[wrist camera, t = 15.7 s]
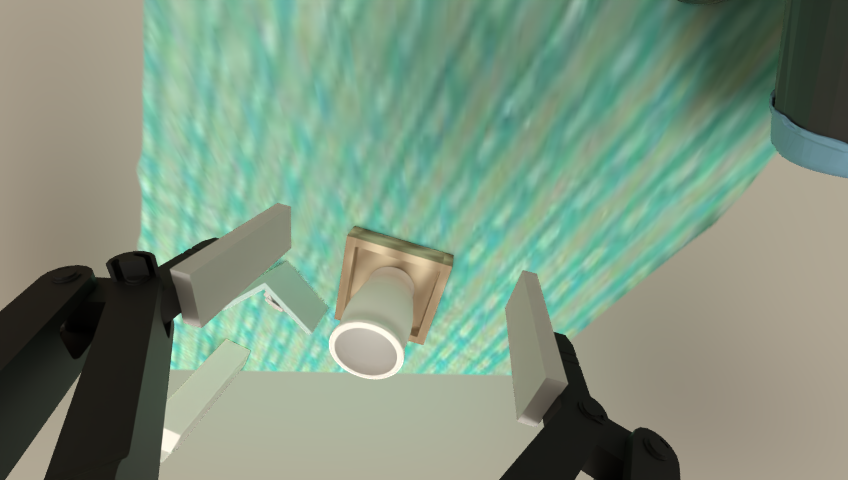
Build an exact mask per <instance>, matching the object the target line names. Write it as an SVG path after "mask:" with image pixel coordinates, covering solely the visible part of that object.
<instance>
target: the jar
mask: <svg viewBox="0 0 848 480" xmlns="http://www.w3.org/2000/svg"><path fill="white" fill-rule="evenodd" d="M414 291H415V288H414V283H413V281H412V279H411V278H410V276H409V275H408V274H407V273H405V272H404V271H402V270H401V269H398V268H395V267H381V268H379V269H377V270H375V271H374V272H373V273H372V274H371V275H370V277H369V280H368V281H367V282H366V283H364V284H363V286H362V287H361V288H360V289H359V291H357V293H356V294H355V295H354V296H353V297H352V298H351V300H350V301H349V303H348V305H347V306H346V308H345V310H344V312H343V315H342V317H341V320H340V324H339V325H338V326H337V327H336V328H335V329H334V330H333V332H332V334H331V336H330V339H329V349H330V352H331V354H332V356H333V358H334V359H335V361H336V362H337V363H338V364H339V365H340V366H341V367H342V368H344V369H345V370H346V371H348V372H350V373H352V374H354V375H357V376H359V377H362V378H368V379H382V378H386V377H390V376H391V375H394V374H395V373H396V372H397V371H398V370H399V369H400V368H401V366H402V364H403V361H404V356H405V350H404V348H405V346H406V344H407V342H408V339H409V336H410V333H411V329H412V323H413V295H414Z"/></svg>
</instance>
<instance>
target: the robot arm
mask: <svg viewBox="0 0 848 480" xmlns="http://www.w3.org/2000/svg"><path fill="white" fill-rule="evenodd" d="M678 1H681V2H685V3H689V4H699V5H700V4H712V3H717V2H721V1H725V0H678ZM769 107H770V109H771V113H772V121H771V141H772V144H773V145H774V146H775V148H776V150H777V151H778V152H779V154H780V155H781V156H782V157H784V158H785V159H787V160H789V161H790V162H793V163H794V164H796V165H799V166H801V167H804V168H807V169H810V170H813V171H816V172H820V173H825V174H829V175H833V176H839V177H844V178H848V0H786V6H785V14H784V21H783V29H782V37H781V45H780V52H779V60H778V68H777V76H776V84H775V89H774V90H773V91H772V93H771V95H770V99H769ZM290 249H291V207H290V206H287V205H283V204H279V203H277V204H275V205H274V206H272V207H270V208H269V209H267V210H265V211H264V212H262V213H261V214H259V215H257V216H256V217H254V218H252V219H251V220H249V221H247V222H246V223H244V224H243V225H241V226H239V227H238V228H236V229H234V230H233V231H231V232H229V233H228V234H226V235H225V236H223V237H221V238H220V239H219V238H212V239H208V240H205V241H202V242H200V243H199V244H197V245H195V246H193V247H192V249H188V250H187V251H185V252H184V253H183V254H182V253H181V254H180V255H178V256H176V257H175V258H173V259H171V260H169V261H168V262H166V263H164V264H163V265H161V266H159V267H158V265H157V262H156V258H155V255H154V254H152V253H150V252H145V251H133V252H127V253H123V254H120V255H117V256H115V257H113V258H111V259H110V260H109V261H108V262H107V263H106V266H107V269H108V271H109V274H110V276H111V278H98V277H95V275H94V273H93V270H92V269H91V268H89V267H87V266H80V265H75V266H66V267H61V268H58V269H55V270H52V271H50V272H47V273H46V274H44V275H42V276H41V277H40V278H38V279H37V280H36V281H35V282H34V283H33V284H31V285H30V286H29V287H28V288H27V289H26V290H25V291H23V293H21V294H20V295H19V296H18V297H16V298H15V299H14V300H13V301H12V302H11V303H9V304H8V305H7V306H6V307H5V308H4V309H3V310H1V311H0V480H5V479H6V478H7V476H8V475H9V473H10V472H11V470H12V469H13V468H14V466H15V465H16V463H17V462H18V461H19V459H20V458H21V456H22V455H23V454H24V452H25V451H26V449H27V448H28V447H29V445H30V444H31V442H32V441H33V440H34V438H35V437H36V435H37V434H38V432H39V431H40V430H41V428H42V427H43V425H44V424H45V423H46V421H47V420H48V418H49V417H50V416H51V414H52V413H53V411H54V410H55V408H56V407H57V406H58V404H59V403H60V401H61V400H62V399H63V397H64V396H65V394H66V393H67V391H68V390H69V389H70V387H71V386H72V384H73V383H74V382H75V380H76V379H77V377H78V376H79V374H80V373H81V375H80V378H79V381H78V384H77V386H76V389H75V392H74V395H73V398H72V401H71V404H70V407H69V409H68V412H67V415H66V418H65V421H64V424H63V427H62V429H61V433H60V435H59V438H58V441H57V444H56V447H55V450H54V452H53V455H52V458H51V461H50V464H49V467H48V470H47V472H46V475H45V478H44V480H158V476H159V466H160V457H161V448H162V438H163V429H164V419H165V410H166V399H167V390H168V381H169V372H170V362H171V353H172V343H173V334H174V321H173V318H175V317H176V316H177V315H178V314H180V313H181V314H182V318H183V322H184V323H186V324H189V325H192V326H196V327H199V328H202V327H203V326H204V325H206V324H207V323H208V322H209V321H210V320H211V319H212V318H213V317H214V316H216V315H217V314H218V313H219V312H220V311H221V310H222V309H223V308H225V307H226V306H227V305H228V304H229V303H230V302H231V301H232V300H234V299H235V298H236V297H237V296H238V295H239V294H240V293H241V292H242V291H244V290H245V289H246V288H247V287H248V286H249V285H250V284H251V283H253V282H254V281H255V280H256V279H257V278H258V277H259V276H260V275H262V274H263V273H264V272H265V271H266V270H267V269H268V268H269V267H271V266H272V265H273V264H274V263H275V262H276V261H277V260H278V259H279V258H281V257H282V256H283V255H284V254H285V253H286V252H287V251H288V250H290ZM505 311H506V320H507V330H508V339H509V349H510V359H511V368H512V377H513V387H514V397H515V406H516V416H517V421H518V422H521V423H524V424H528V425H531V426H534V427H537V426H538V424H539V423H540V422H541V420H542V419H543V423H544V428H543V429H542V430H541V431H540V432H539V434H538V435H537V436H536V437H535V438H534V440H533V441H532V442H531V443H530V444H529V445H528V446H527V448H526V449H525V450H524V451H523V452H522V454H521V455H520V456H519V457H518V458H517V459H516V461H515V462H514V463H513V464H512V465H511V466H510V468H509V469H508V470H507V471H506V472H505V474H504V475H503V476H502V477H501V478H500V479H499V480H575V478H576V477H577V475H578V474H579V472H580V470H582V471H583V472H585V473H586V474H588V475H590V476H591V477H592V478H594V480H680V468H679V462H678V458H677V455H676V454H675V452H674V450H673V449H672V447H671V446H670V445H669V444H668V443H667V442H666V441H665V440H664V439H663V438H662V437H661V436H659V435H658V434H657V433H655V432H654V431H652V430H649V429H648V428H642V427H640V428H638V429H635V430H634V431H633V432H630V431H629V430H627V429H625V428H623V427H622V426H620V425H618V424H616V423H615V422H613V421H611V420H610V419H608V416H607V414H606V412H605V410H604V409H603V407H602V406H601V405H600V404H599V403H598V402H597V401H596V400H595V399H593V398H592V397H591V396H590V394H589V391H588V388H587V385H586V382H585V379H584V376H583V373H582V370H581V367H580V366H579V362H578V359H577V357H576V353H575V350H574V347H573V345H572V344H571V342H570V341H569V339H568V338H567V337H566V335H563V334H559V333H556V332H553V329H552V325H551V322H550V318H549V315H548V311H547V308H546V304H545V301H544V297H543V294H542V290H541V287H540V283H539V280H538V276H537V274H535V273H532V272H528V271H524V270H523V271H522V273H521V275H520V277H519V279H518V282H517V284H516V286H515V288H514V290H513V292H512V294H511V297H510V299H509V301H508V303H507V305H506V307H505Z"/></svg>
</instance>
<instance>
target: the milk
mask: <svg viewBox="0 0 848 480" xmlns="http://www.w3.org/2000/svg"><path fill="white" fill-rule="evenodd" d="M250 351H251V350H249V349H247V348H245V347H243V346H240V345H238V344H236V343H234V342H232V341H230V340H228V339H225V340H224V342H223V343H222V344H221V345H220V346H219V347H218V348H217V349H216V350H215V351H214V352H213V353H212V354H211V355H210V356H209V357H208V358H207V359H206V360H205V361H204V362H203V364H202V365H201V366H200V367H199V368H198V369H197V370H196V371H195V372H194V373H193V374H192V375H191V376H190V377H189V378H188V379H187V381H185V382H184V384H183V385H182V386H181V387H180V388H179V389H178V390H177V391H176V392H175V393H174V394H173V395H172V396H171V397H170V398H169V399H168V400H167V401H166V410H165V419H164V429H163V438H162V448H161V457H160V462H163V461H165V459H166V458H167V457H168V456H169V455H170V453H172V452H174V451H175V450H177V449H178V448H179V446H180V445H181V444H182V442H183V441H184V440H185V439H186V437H187V436H188V435H189V434H190V433H191V431H192V430H193V429H194V428H195V426H196V425H197V424H198V423H199V421H200V420H201V419H202V418H203V416H204V415H205V414H206V412H207V411H208V410H209V409H210V407H211V406H212V405H213V404H214V403H215V401H216V400H217V399H218V398H219V396H220V395H221V394H222V393H223V391H224V390H225V389H226V388H227V386H228V385H229V384H230V383H231V381H232V380H233V379H234V377H235V376H236V375H237V374H238V373H239V371H240V370H241V369H242V368H243V366H244V365H245V363H246V361H247V358H248V356H249V353H250Z"/></svg>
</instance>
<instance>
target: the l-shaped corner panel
mask: <svg viewBox="0 0 848 480" xmlns="http://www.w3.org/2000/svg"><path fill="white" fill-rule="evenodd" d="M263 289H265V293H264V296H265V297H266V299H265V301H267V302H268V303H269V305H272V306H273V308H274V309H277V310H279V311H280V312H283V311H285V312H286V313H288V314H289V315H290V316H291V317H292V319H293V320H294V321H295V322H296V323H297V324H298V325H299V326H300V327H301V328H302V329H303V330H304V331H305V332H306V333H307V334H308V335H309V334H312V333H313V331H314V330H315V328H316V327H317V325H318V323H319V322H320V320H321V319H322V317H323V315H324V314H325V312H326V311H327V309H328V308H329V307H328V306H327V305H326V304H325V303H324V302H323V300H322V299H321V298H320V297H319V296H318V295H317V294H316V292H315V291H314V290H313V289H312V288H311V287H310V286H309V284H308V283H307V282H306V281H305V280H304V279H303V278H302V276H301V275H300V274H299V273H298V272H297V271H296V270H295V269H294V267H293V266H292V265H291V264H290V263H289V262H288V261H286V262H284V263H282V264H281V265H279V266H277V267H275V268H274V269H272V270H270V271H268V272H266V273H265V274H263V275H261V276H259V277H258V278H257V279H256V280H255V281H254V282H253V283H251V284H250V285H249V286H248V287H247V288H246V289H245V290H244V291H242V292H241V293H240V294H239V295H238V296H237V297H236V298H235V299H234V300H232V301H231V302H230V303H229V304H228V305H227V306H226V307H225V308H223V309H222V310H223V311H224V310H226V309H228V308H230V307H232V306H234V305H235V304H237V303H239V302H241V301H243V300H245V299H247V298H248V297H250V296H252V295H254V294H256V293H258V292H260V291H261V290H263Z"/></svg>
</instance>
